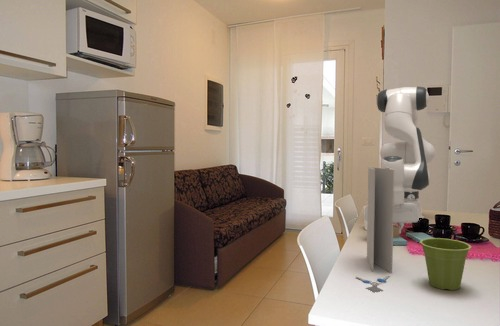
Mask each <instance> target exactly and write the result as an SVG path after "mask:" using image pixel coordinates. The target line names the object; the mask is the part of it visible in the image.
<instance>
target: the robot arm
mask: <svg viewBox="0 0 500 326" xmlns="http://www.w3.org/2000/svg"><path fill="white" fill-rule="evenodd" d="M375 100H376V101H375V102H376V107H377V109H378V111H380V112H381V113H384V119H383V120H384V121H383V122H384V123H383V124H384V125H383V126H384V130H385V132H386V133H387V134H388V135H390V136H391V137H393V138H395V139H396V140H400V141H393V142H387V143H384V144H383V145H382V146H381V148H380V151H379V154H380V158H381V159H382V160H381V165H380V168H383V169H385V167H387V168H390V169H393V170H394V211H393V223H398V226H397V227H399V235H401V233H402V229H403V228H404V225H405V223H418V221H420V220H419V218H422V219H425V215H423V213H422V202H421V201H420V200H419V198H420V191H422V190H424V189H425V188H427V187H428V186H429V185H430V182H431V174H430V171H429V166H428V165H427V163H429V164H430V163H431V162H432V161H433V160H434V159H435V156H436V148H435V146H434V145H433V144H432V143H430V142H429V141H427V140H426V139H425V138H424V137H423V136H422V132H421V129H420V127H419V120H418V111H421V110H424V109H425V108H426V107H427V106H428V104H429V102H430V95H429V93H428V90H427V89H426V87H424V86H413V87H412V86H402V87H397V88H396V87H395V88H391V89H383V90H380V91H379V92H378V93H377V96H376V99H375ZM366 199H367V203H366V204H365V206H366V207H365V216H364V215H363V219H364V218H365V220H366V221H367V222H368V197H367V198H366Z"/></svg>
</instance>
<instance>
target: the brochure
mask: <svg viewBox="0 0 500 326" xmlns="http://www.w3.org/2000/svg"><path fill="white" fill-rule="evenodd" d="M367 167H368V168H367V169H368V171H367V173H368V174H367V175H368V176H367V198H368V201H367V203H368V223H367V230H366V233H367V234H366V237H367V238H366V239H367V241H366V242H367V243H366V244H367V245H366V259H367V261H368V264H369V266H370V270H371V273H374V264H376V265H377V266H379V267H381V268H382V269H384V270H385V271H387V272H389V273H390V274H393V255H394V254H393V253H394V251H393V250H394V247H393V246H394V245H393V225H394V222H393V211H394V170H393V169H390V168H387V167H385V169H383V168H381V167H372V166H367Z"/></svg>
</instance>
